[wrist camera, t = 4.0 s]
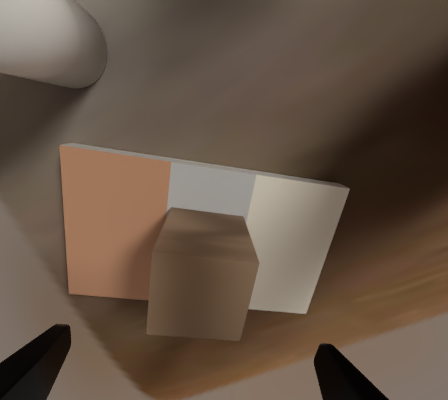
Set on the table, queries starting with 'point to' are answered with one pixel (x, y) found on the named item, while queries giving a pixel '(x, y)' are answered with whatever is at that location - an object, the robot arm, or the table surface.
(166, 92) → the table surface
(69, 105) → the table surface
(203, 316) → the block
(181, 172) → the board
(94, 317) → the table surface
